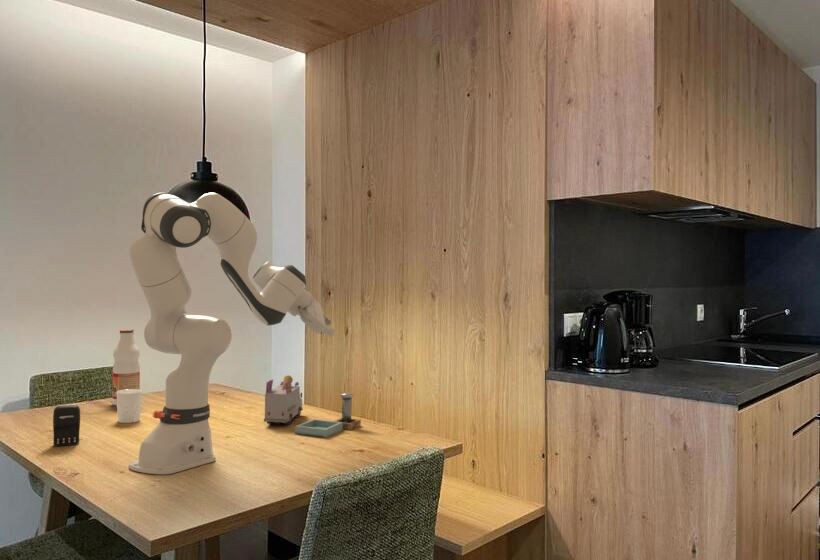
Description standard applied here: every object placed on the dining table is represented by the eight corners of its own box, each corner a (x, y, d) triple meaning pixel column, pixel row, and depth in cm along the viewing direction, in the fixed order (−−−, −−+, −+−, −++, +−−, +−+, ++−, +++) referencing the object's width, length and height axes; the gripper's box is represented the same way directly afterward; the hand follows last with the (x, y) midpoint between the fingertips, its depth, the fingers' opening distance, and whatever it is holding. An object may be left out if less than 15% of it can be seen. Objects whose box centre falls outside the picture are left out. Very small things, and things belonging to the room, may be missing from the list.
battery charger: (52, 448, 182) (52, 407, 182) (52, 444, 185) (53, 405, 185) (80, 445, 185) (80, 405, 185) (79, 442, 189) (80, 403, 189)
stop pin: (349, 428, 210) (349, 395, 210) (337, 427, 212) (338, 394, 212) (355, 426, 214) (355, 393, 214) (343, 424, 216) (344, 392, 216)
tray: (325, 437, 198) (326, 429, 198) (295, 434, 203) (295, 426, 203) (342, 430, 209) (342, 422, 209) (313, 426, 213) (313, 418, 213)
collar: (351, 430, 209) (351, 424, 209) (332, 427, 211) (332, 421, 211) (360, 425, 215) (360, 419, 215) (342, 423, 218) (342, 417, 218)
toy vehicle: (304, 415, 229) (305, 373, 229) (288, 428, 210) (289, 382, 210) (279, 414, 230) (280, 372, 230) (261, 427, 211) (262, 381, 210)
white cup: (141, 422, 214) (141, 392, 214) (115, 424, 211) (115, 394, 211) (141, 417, 221) (142, 388, 221) (116, 419, 218) (117, 389, 218)
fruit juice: (129, 407, 237) (130, 331, 237) (106, 405, 239) (107, 330, 239) (144, 402, 246) (145, 329, 246) (122, 400, 248) (123, 328, 248)
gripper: (306, 305, 190) (341, 333, 194) (303, 285, 209) (335, 311, 214) (292, 320, 190) (327, 348, 195) (290, 298, 209) (322, 324, 214)
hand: (331, 328), depth 204 cm, fingers open, 8 cm apart
